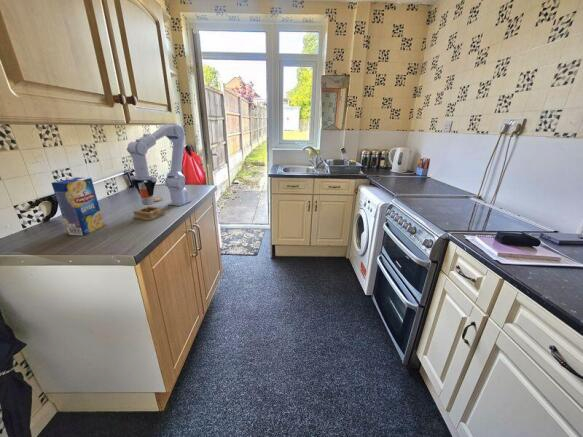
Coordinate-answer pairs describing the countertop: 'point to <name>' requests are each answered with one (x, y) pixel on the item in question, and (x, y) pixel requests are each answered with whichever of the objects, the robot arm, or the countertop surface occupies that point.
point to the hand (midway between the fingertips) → (146, 194)
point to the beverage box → (78, 205)
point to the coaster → (156, 199)
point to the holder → (148, 213)
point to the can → (145, 194)
